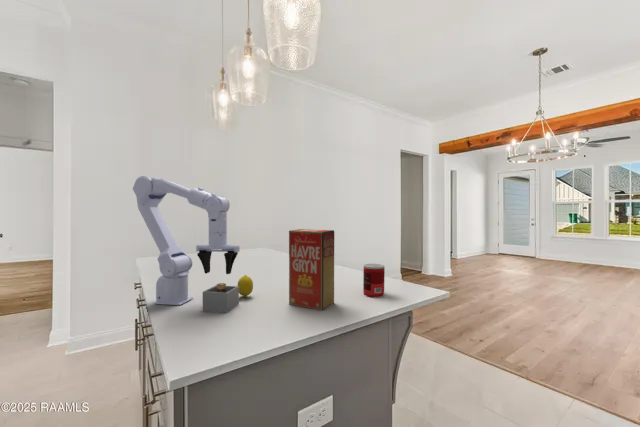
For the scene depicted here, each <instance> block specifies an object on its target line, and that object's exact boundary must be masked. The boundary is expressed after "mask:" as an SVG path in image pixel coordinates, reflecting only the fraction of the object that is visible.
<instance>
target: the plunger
mask: <svg viewBox="0 0 640 427" xmlns="http://www.w3.org/2000/svg"><path fill="white" fill-rule="evenodd" d="M216 285H217V292H226V286H227V284H226V283H224V282H222V283H216Z"/></svg>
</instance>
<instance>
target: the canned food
mask: <svg viewBox="0 0 640 427" xmlns="http://www.w3.org/2000/svg"><path fill="white" fill-rule="evenodd" d="M362 282H363V285H362V286H363V295H364V296H365V295H366V297H369V298H381V297H383V296H384V295H385V265H383V264H380V263H366V264H363V281H362Z"/></svg>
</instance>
